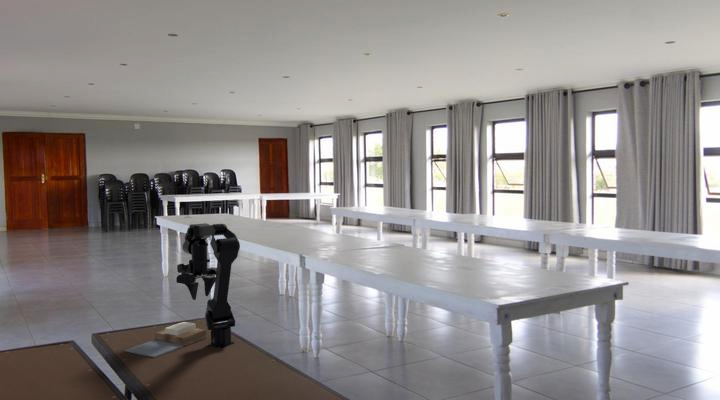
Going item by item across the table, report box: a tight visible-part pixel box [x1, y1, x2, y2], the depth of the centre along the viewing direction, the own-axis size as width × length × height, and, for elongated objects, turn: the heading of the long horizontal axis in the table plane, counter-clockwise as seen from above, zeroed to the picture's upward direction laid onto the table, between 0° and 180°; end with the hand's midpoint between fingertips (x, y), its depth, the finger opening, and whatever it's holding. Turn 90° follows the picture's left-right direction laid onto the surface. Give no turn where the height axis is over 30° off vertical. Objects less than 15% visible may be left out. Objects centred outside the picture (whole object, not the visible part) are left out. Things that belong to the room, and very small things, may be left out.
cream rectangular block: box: [164, 321, 197, 336], centre depth 208 cm, size 6×9×2 cm, turn 152°
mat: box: [124, 339, 184, 359], centre depth 198 cm, size 14×13×1 cm
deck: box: [154, 327, 207, 347], centre depth 208 cm, size 14×11×3 cm
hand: (200, 297), depth 217 cm, fingers open, 6 cm apart
